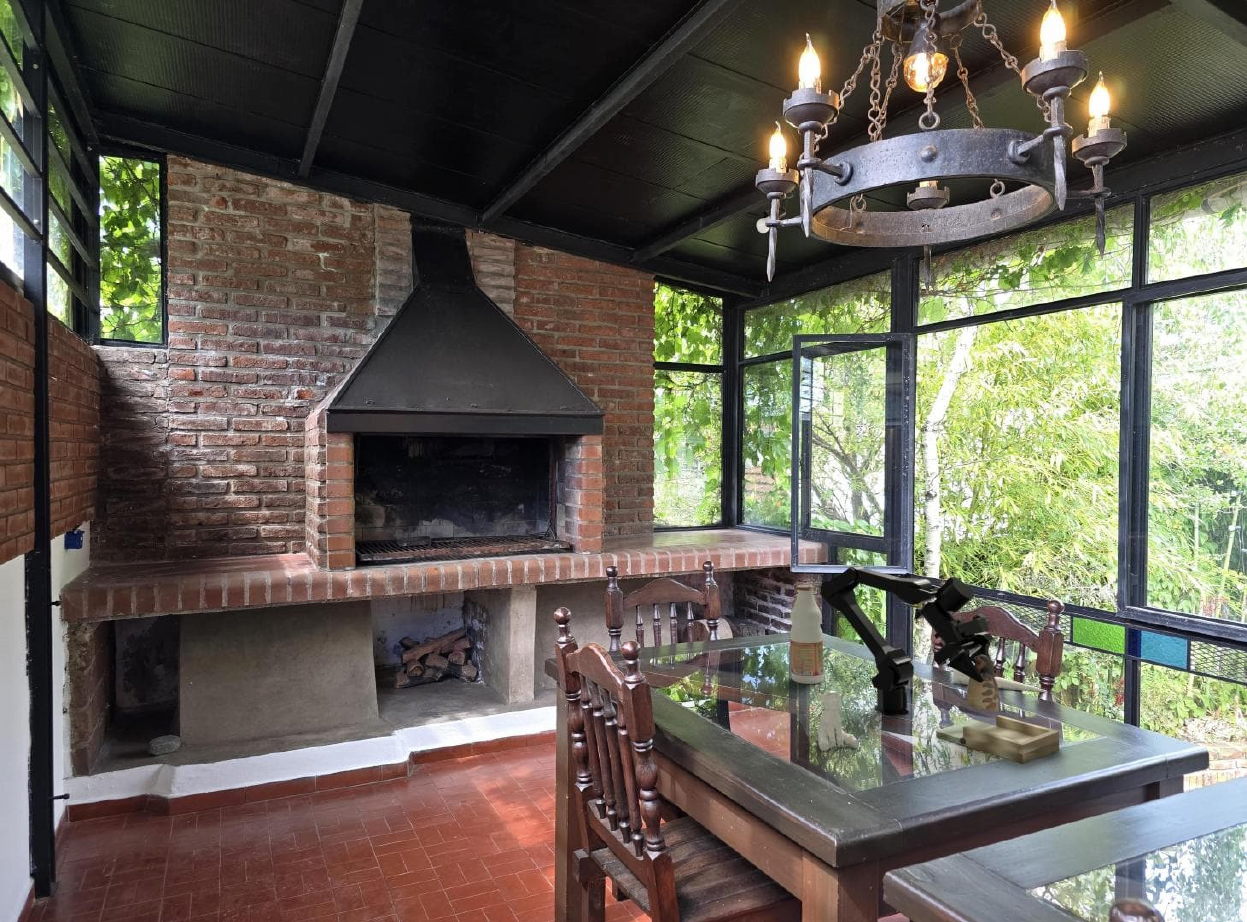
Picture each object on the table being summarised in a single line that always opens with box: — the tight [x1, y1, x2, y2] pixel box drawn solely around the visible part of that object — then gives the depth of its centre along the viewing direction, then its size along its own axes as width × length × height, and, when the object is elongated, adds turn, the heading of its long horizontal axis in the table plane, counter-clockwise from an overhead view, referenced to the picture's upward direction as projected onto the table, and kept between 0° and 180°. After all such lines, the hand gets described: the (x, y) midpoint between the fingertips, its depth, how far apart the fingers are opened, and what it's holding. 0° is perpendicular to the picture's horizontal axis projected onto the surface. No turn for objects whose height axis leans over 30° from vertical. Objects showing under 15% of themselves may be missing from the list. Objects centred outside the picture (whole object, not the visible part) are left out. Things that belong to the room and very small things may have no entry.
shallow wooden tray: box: [935, 714, 1060, 765], centre depth 177 cm, size 21×14×4 cm
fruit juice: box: [789, 584, 825, 685], centre depth 231 cm, size 9×9×28 cm
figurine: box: [966, 655, 1001, 712], centre depth 182 cm, size 7×7×12 cm
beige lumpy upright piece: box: [816, 689, 860, 752], centre depth 179 cm, size 10×9×12 cm
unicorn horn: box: [952, 669, 1048, 693], centre depth 219 cm, size 5×24×5 cm, turn 55°
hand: (989, 679), depth 181 cm, fingers closed on figurine, 6 cm apart
